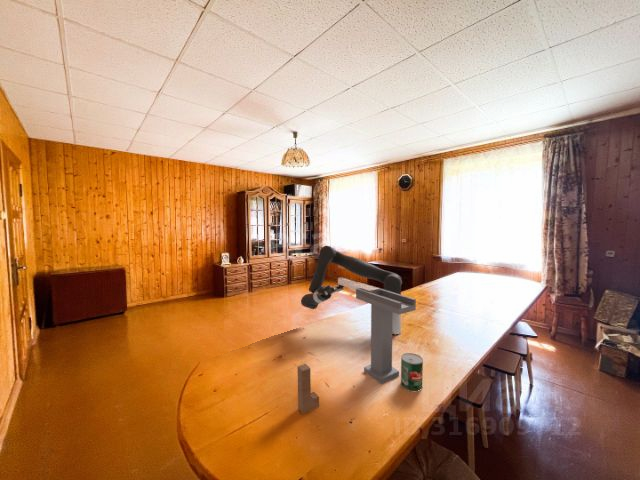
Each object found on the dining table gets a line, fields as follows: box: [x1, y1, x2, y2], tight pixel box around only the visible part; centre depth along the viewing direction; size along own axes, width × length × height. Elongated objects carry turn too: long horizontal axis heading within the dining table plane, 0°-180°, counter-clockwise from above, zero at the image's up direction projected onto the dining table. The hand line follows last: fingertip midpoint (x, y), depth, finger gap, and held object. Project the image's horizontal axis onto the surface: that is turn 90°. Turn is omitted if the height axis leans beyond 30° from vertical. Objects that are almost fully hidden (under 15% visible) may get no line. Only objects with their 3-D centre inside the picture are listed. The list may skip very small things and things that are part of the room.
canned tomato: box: [400, 352, 424, 392], centre depth 101 cm, size 8×8×11 cm
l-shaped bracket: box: [296, 363, 320, 415], centre depth 89 cm, size 7×3×15 cm, turn 123°
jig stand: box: [355, 286, 417, 385], centre depth 107 cm, size 24×10×34 cm, turn 31°
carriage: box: [337, 277, 381, 295], centre depth 121 cm, size 25×6×3 cm, turn 31°
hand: (336, 285), depth 134 cm, fingers open, 8 cm apart
